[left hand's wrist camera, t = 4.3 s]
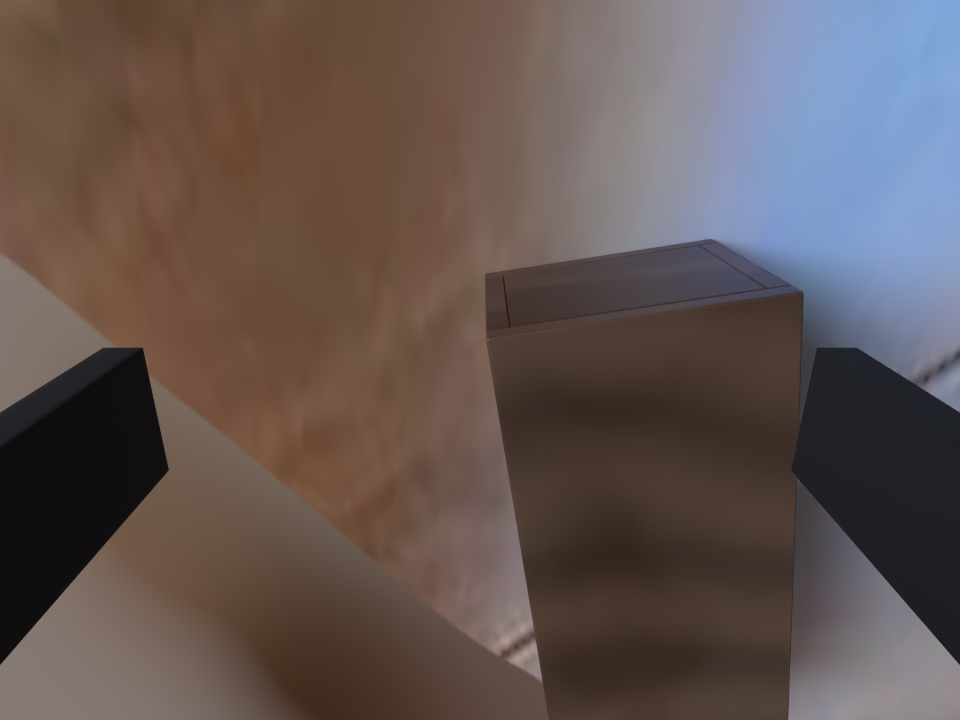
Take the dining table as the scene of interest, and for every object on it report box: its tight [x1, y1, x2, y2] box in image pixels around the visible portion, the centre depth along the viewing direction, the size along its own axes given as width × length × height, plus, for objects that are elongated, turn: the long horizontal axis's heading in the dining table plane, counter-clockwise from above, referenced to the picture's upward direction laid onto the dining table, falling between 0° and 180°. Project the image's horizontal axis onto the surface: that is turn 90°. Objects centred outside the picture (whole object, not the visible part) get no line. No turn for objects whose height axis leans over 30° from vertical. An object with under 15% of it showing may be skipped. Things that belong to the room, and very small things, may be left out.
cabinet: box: [485, 239, 803, 720], centre depth 28 cm, size 20×10×8 cm, turn 9°
